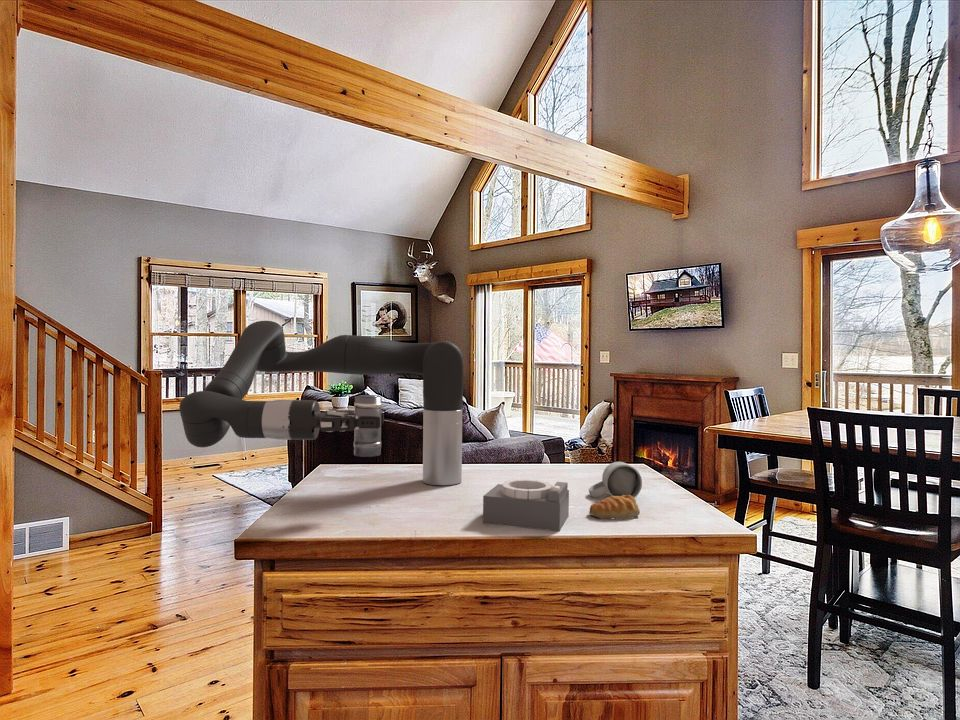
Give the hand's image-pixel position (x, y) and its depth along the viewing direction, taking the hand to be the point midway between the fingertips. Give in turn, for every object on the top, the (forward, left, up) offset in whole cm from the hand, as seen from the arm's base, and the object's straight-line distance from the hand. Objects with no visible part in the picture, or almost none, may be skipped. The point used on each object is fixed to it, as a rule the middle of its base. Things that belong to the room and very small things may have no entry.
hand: (381, 420), depth 114 cm
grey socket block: (-5, +27, -18) cm, 33 cm away
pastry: (-14, +43, -18) cm, 49 cm away
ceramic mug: (-29, +42, -18) cm, 54 cm away
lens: (+1, -2, -6) cm, 7 cm away
